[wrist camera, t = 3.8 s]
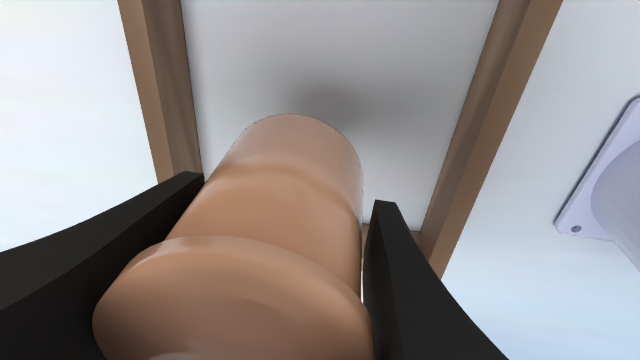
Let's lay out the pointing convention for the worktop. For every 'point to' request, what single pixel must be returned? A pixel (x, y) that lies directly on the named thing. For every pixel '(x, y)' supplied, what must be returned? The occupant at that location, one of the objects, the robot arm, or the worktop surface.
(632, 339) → the worktop surface
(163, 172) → the box
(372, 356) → the terracotta pot
